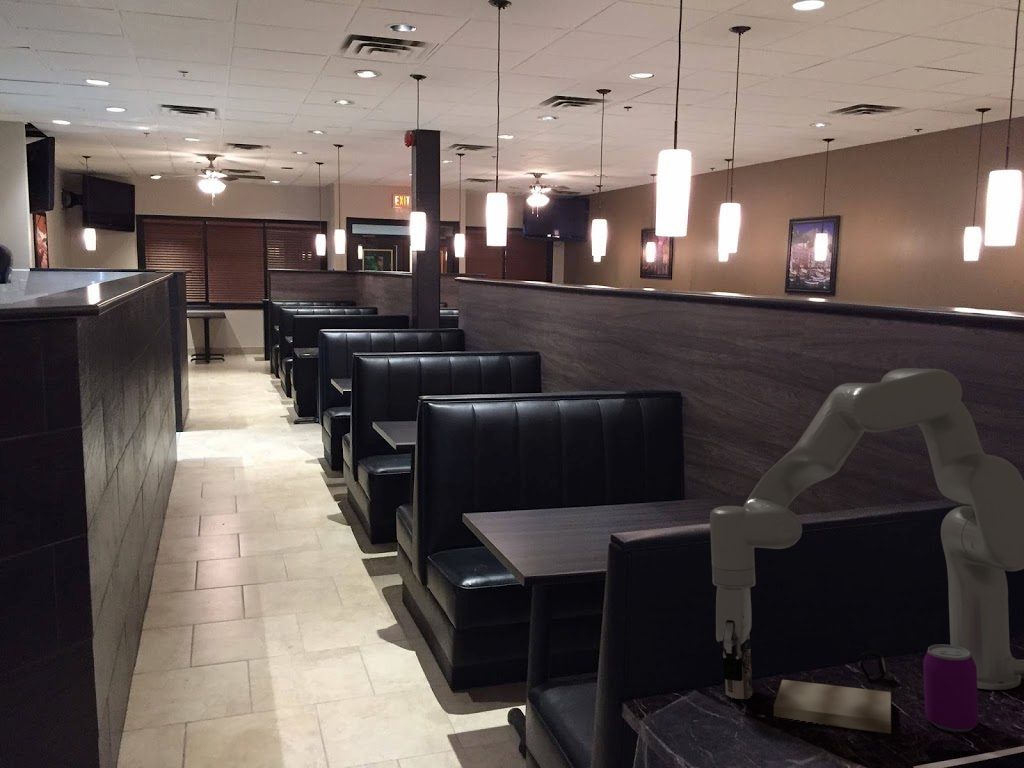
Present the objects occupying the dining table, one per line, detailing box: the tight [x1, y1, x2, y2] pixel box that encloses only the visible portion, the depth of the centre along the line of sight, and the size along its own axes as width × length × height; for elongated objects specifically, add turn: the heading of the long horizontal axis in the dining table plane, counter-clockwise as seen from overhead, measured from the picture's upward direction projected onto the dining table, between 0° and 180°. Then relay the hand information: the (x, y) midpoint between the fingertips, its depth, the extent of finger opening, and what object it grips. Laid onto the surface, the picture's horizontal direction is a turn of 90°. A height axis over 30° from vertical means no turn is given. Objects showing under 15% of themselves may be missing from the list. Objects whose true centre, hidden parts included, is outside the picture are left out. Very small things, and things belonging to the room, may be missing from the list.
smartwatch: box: [857, 650, 888, 680], centre depth 151 cm, size 4×5×5 cm
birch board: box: [773, 679, 892, 735], centre depth 138 cm, size 18×12×2 cm, turn 65°
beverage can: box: [922, 643, 979, 733], centre depth 131 cm, size 8×8×12 cm
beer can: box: [722, 628, 753, 700], centre depth 146 cm, size 5×5×12 cm
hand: (737, 670), depth 146 cm, fingers open, 8 cm apart
